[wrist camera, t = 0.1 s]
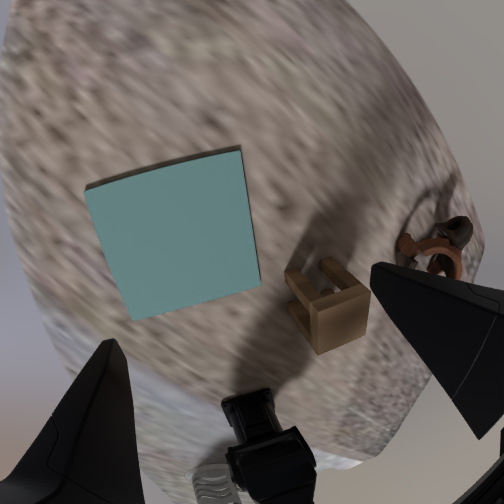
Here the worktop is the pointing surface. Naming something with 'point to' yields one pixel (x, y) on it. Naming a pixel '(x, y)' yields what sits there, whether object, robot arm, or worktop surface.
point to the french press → (213, 484)
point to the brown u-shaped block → (329, 307)
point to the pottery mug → (439, 247)
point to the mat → (177, 234)
